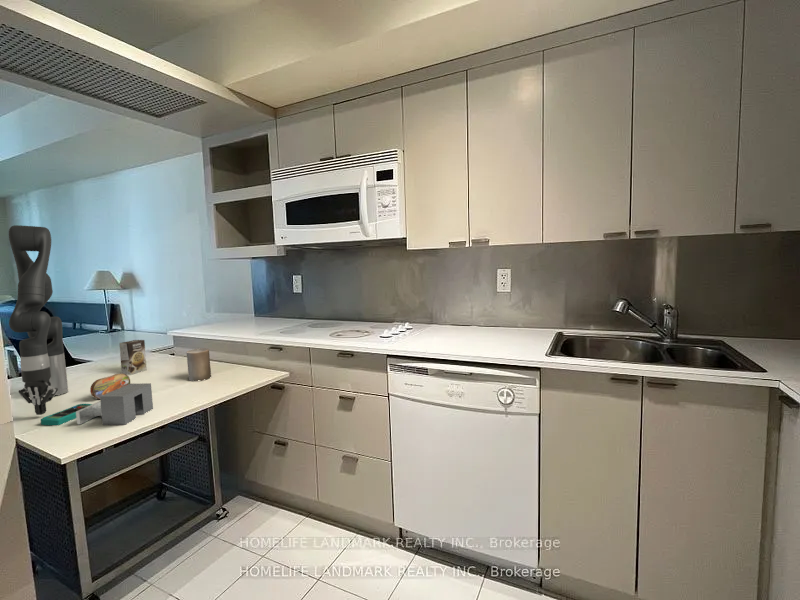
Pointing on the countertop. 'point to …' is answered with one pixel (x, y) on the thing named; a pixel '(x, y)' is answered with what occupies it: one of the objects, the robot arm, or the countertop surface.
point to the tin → (108, 384)
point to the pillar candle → (198, 364)
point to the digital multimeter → (63, 415)
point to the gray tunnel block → (126, 403)
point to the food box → (133, 356)
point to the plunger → (88, 413)
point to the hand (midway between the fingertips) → (40, 413)
